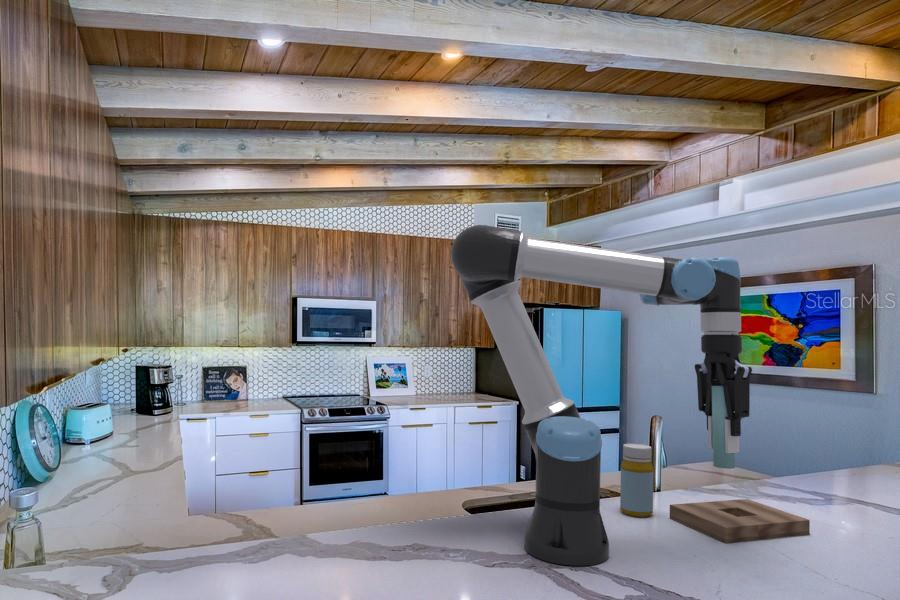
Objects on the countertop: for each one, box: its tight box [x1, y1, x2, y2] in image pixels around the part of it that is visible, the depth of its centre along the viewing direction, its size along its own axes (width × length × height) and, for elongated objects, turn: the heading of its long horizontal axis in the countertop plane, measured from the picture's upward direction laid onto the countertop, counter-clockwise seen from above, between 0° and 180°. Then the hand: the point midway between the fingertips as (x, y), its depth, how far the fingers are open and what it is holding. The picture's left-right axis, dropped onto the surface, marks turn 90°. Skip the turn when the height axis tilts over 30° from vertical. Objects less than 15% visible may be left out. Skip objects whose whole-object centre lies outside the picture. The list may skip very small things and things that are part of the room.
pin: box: [712, 385, 736, 470], centre depth 118 cm, size 4×4×16 cm
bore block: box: [669, 498, 811, 544], centre depth 126 cm, size 22×16×3 cm
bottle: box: [619, 443, 654, 518], centre depth 133 cm, size 7×7×15 cm
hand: (723, 450), depth 118 cm, fingers closed on pin, 4 cm apart
